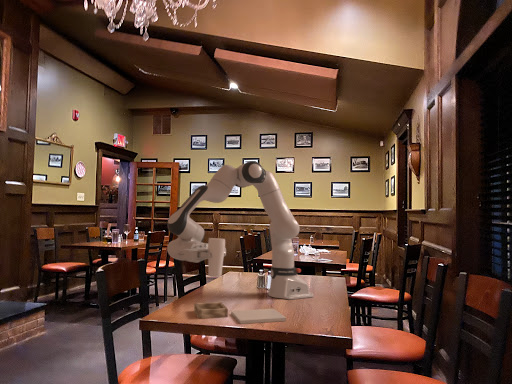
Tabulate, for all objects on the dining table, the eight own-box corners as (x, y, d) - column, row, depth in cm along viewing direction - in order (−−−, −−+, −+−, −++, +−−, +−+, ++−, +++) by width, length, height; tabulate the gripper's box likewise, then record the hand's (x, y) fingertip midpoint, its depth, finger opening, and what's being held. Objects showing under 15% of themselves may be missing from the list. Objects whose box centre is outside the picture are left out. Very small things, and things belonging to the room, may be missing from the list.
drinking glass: (206, 274, 152) (208, 237, 154) (223, 275, 153) (225, 238, 154) (206, 277, 146) (208, 238, 147) (223, 277, 146) (225, 239, 148)
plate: (273, 311, 155) (273, 308, 155) (286, 320, 141) (286, 317, 141) (231, 313, 149) (231, 310, 149) (240, 324, 136) (240, 320, 136)
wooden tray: (221, 309, 156) (221, 302, 156) (227, 316, 145) (227, 308, 145) (194, 311, 153) (194, 303, 153) (198, 318, 142) (198, 310, 142)
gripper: (175, 245, 151) (197, 248, 142) (212, 243, 166) (235, 245, 157) (175, 261, 151) (197, 265, 141) (212, 257, 166) (234, 260, 157)
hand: (217, 254), depth 150 cm, fingers closed on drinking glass, 6 cm apart
